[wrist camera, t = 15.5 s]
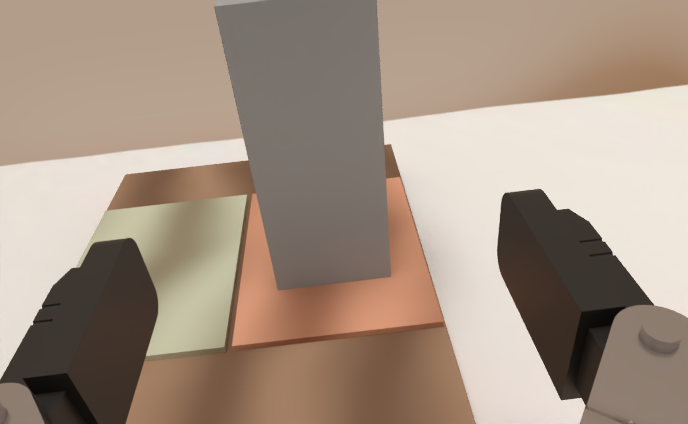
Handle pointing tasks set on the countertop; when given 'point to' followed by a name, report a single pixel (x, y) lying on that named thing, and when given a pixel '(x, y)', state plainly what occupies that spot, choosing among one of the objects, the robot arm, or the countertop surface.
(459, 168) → the countertop surface
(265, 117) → the slate brick
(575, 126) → the countertop surface
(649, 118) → the countertop surface
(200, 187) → the walnut board
